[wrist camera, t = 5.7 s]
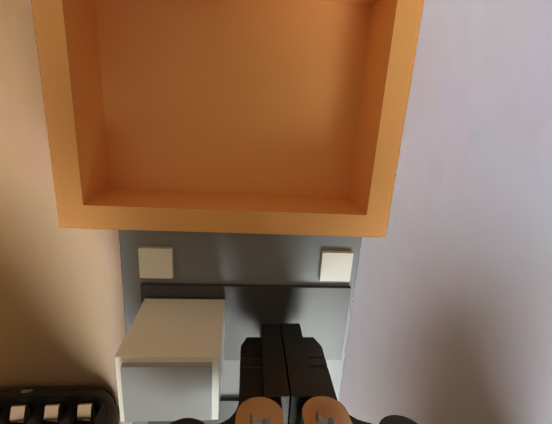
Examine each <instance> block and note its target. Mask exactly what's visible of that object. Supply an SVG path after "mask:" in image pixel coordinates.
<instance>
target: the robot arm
mask: <svg viewBox="0 0 552 424" xmlns="http://www.w3.org/2000/svg"><path fill="white" fill-rule="evenodd" d="M170 424H204V423H203V422H202V421H200V420H198V419H194V418H182V419H178V420H176V421H174V422H172V423H170ZM220 424H371V423H367V422H363V421H360V420H358V419H356V418H354V417H352V416H350V415H349V414H348V412H347V410H346V408H345V407H344V406H343V405H342V404H341V403H340V402H338V400H337V397H336V393H335V390H334V386H333V383H332V380H331V376H330V373H329V370H328V367H327V363H326V360H325V356H324V353H323V349H322V346H321V345H320V344H319V343H318V342H317V341H316V340H315V338H314V337H303V336H302V332H301V327H300V324H299V323H280V324H279V323H261V324H260V337H246V339H245V341H244V342H243V344H242V345H241V352H240V382H239V403H238V407H237V409H236V411H235V413H234V414H233V415H232V416H231V417H230V418H229V419H227V420H226V421H224V422H222V423H220ZM379 424H417V423H416V422H414V421H413V420H411V419H409V418H406V417H403V416H399V415H390V416H387V417H385V418H383V419H382V420H381V421H380V423H379Z"/></svg>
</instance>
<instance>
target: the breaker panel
mask: <svg viewBox="0 0 552 424" xmlns="http://www.w3.org/2000/svg"><path fill="white" fill-rule="evenodd" d="M361 239H362V237H355V236H321V235H287V234H253V233H219V232H185V231H151V230H119V240H120V254H121V268H122V281H123V295H124V309H125V322H126V334H127V332H128V331H129V329H130V327H131V325H132V323H133V321H134V319H135V317H136V315H137V313H138V311H139V309H140V307H141V305H142V303H143V301H144V299H225V340H224V360H223V372H222V383H221V394H220V405H219V417H218V420H200V421H202V422H203V423H204V424H220V423H222V422H224V421H226V420H227V419H229V418H230V417H231V416H232V415H233V414H234V413H235V411H236V409H237V407H238V403H239V382H240V352H241V345H242V344H243V342H244V341H245V339H246V337H260V324H261V323H279V324H280V323H299V324H300V327H301V332H302V336H303V337H314V338H315V340H316V341H317V342H318V343H319V344H320V345H321V346H322V349H323V353H324V356H325V360H326V363H327V367H328V370H329V373H330V376H331V380H332V383H333V386H334V390H335V393H336V397H337V400H338V401H339V394H340V387H341V380H342V373H343V366H344V359H345V352H346V344H347V337H348V330H349V323H350V316H351V309H352V302H353V295H354V288H355V281H356V274H357V267H358V260H359V253H360V246H361ZM172 422H174V421H142V422H133V424H170V423H172Z"/></svg>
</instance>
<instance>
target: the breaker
mask: <svg viewBox="0 0 552 424" xmlns="http://www.w3.org/2000/svg"><path fill="white" fill-rule="evenodd" d="M224 340H225V299H144V301H143V303H142V305H141V307H140V309H139V311H138V313H137V315H136V317H135V319H134V321H133V323H132V325H131V327H130V329H129V331H128V332H127V334H126V336H125V338H124V340H123V342H122V344H121V346H120V348H119V350H118V352H117V354H116V356H115V363H116V375H117V387H118V398H119V410H120V421H125V422H142V421H176V420H178V419H182V418H194V419H198V420H218V417H219V405H220V394H221V383H222V372H223V360H224Z"/></svg>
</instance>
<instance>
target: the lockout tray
mask: <svg viewBox="0 0 552 424" xmlns="http://www.w3.org/2000/svg"><path fill="white" fill-rule="evenodd" d="M31 2H32V10H33V18H34V26H35V34H36V42H37V50H38V58H39V66H40V74H41V82H42V90H43V98H44V106H45V114H46V122H47V130H48V138H49V146H50V154H51V162H52V170H53V178H54V186H55V194H56V202H57V210H58V218H59V226H60V228H83V229H117V230H151V231H185V232H219V233H253V234H287V235H321V236H355V237H386V232H387V225H388V219H389V213H390V207H391V201H392V195H393V189H394V182H395V176H396V170H397V164H398V158H399V152H400V146H401V139H402V133H403V127H404V121H405V115H406V109H407V102H408V96H409V90H410V84H411V78H412V72H413V66H414V59H415V53H416V47H417V41H418V35H419V29H420V23H421V16H422V10H423V4H424V0H31Z"/></svg>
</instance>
